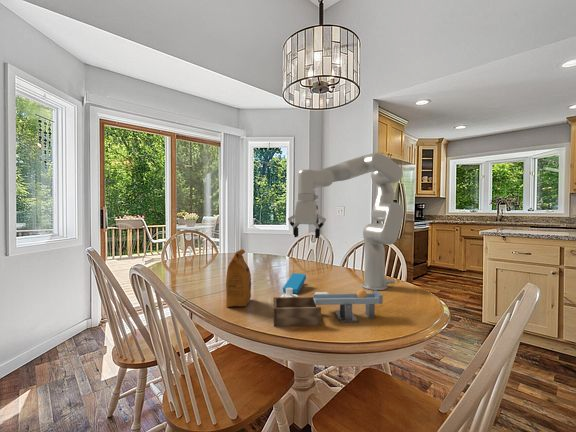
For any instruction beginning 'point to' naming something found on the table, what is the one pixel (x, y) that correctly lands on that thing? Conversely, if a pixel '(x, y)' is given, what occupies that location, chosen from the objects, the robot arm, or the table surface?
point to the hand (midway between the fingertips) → (306, 237)
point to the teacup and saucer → (289, 293)
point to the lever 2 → (346, 298)
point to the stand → (347, 315)
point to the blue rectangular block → (295, 282)
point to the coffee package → (238, 281)
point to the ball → (361, 294)
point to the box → (296, 311)
